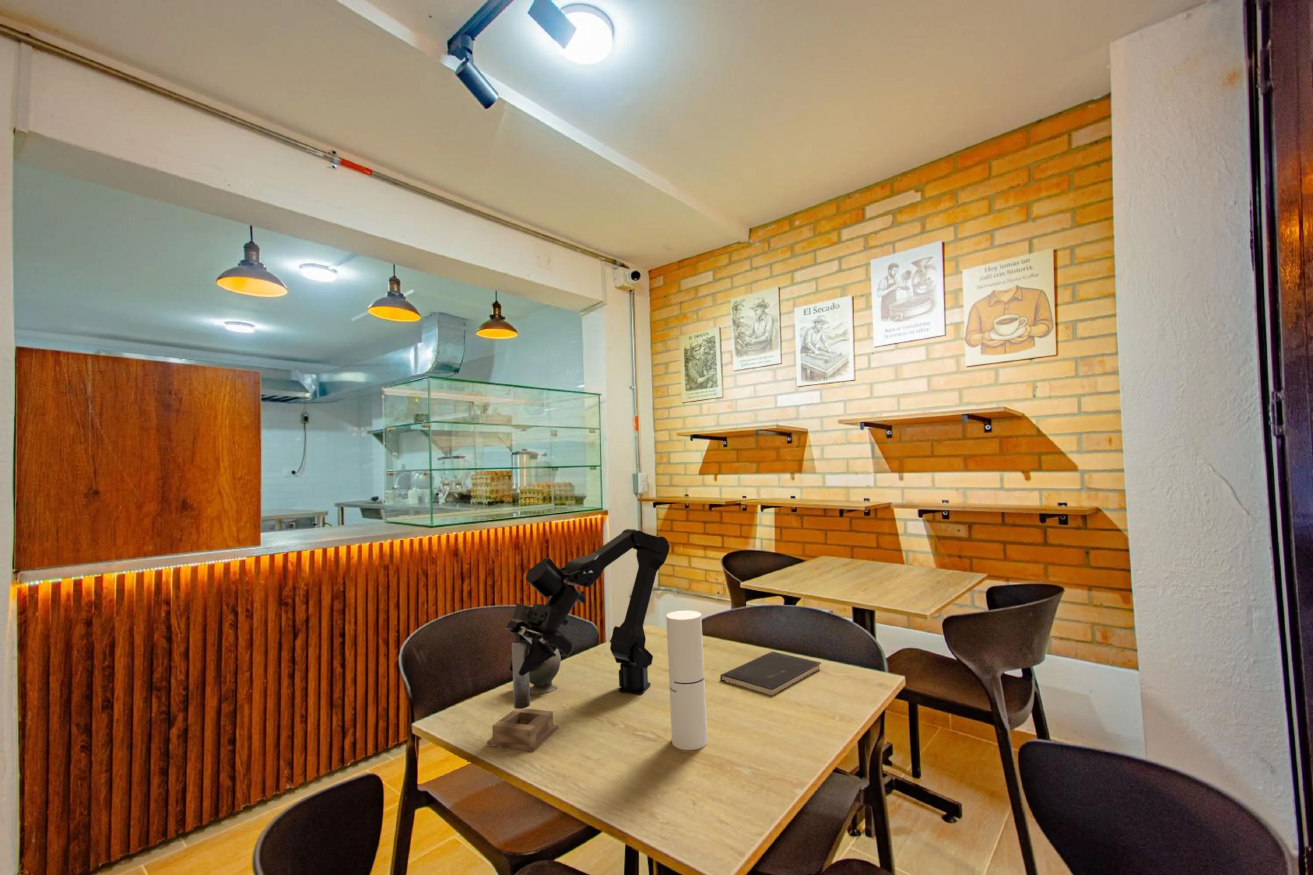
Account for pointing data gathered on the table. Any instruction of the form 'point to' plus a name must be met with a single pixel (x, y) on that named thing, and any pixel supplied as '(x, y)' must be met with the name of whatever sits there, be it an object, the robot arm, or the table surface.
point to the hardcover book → (771, 672)
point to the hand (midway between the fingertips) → (515, 672)
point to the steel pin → (520, 682)
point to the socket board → (523, 729)
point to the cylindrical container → (686, 680)
